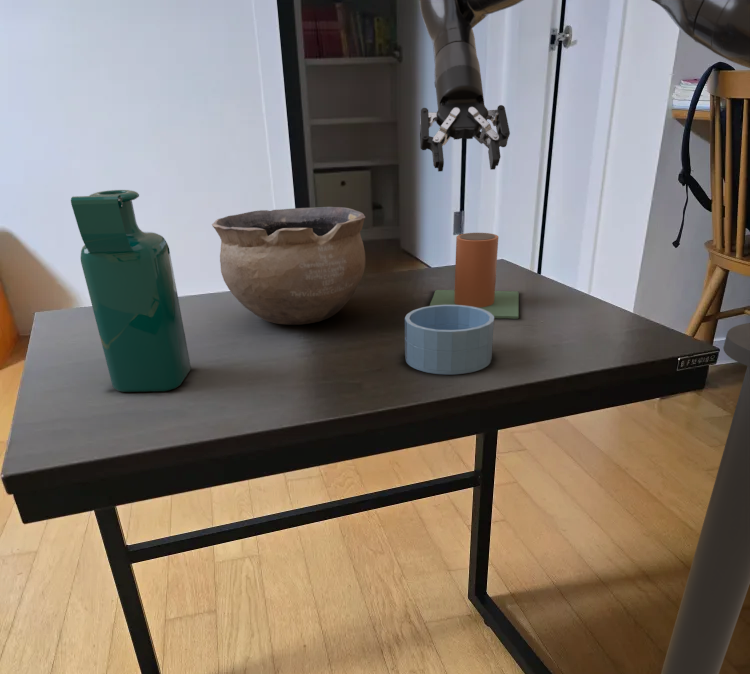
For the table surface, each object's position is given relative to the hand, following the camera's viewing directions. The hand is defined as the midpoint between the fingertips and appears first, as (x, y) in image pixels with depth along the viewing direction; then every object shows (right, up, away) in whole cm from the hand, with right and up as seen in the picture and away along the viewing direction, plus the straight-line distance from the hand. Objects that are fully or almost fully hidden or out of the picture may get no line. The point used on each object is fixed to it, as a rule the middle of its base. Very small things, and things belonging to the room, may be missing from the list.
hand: (467, 167), depth 107 cm
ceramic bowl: (-27, -25, -2) cm, 37 cm away
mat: (+1, -22, +1) cm, 22 cm away
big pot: (-5, -35, -19) cm, 40 cm away
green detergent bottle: (-43, -39, -23) cm, 62 cm away
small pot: (+1, -21, +1) cm, 21 cm away
